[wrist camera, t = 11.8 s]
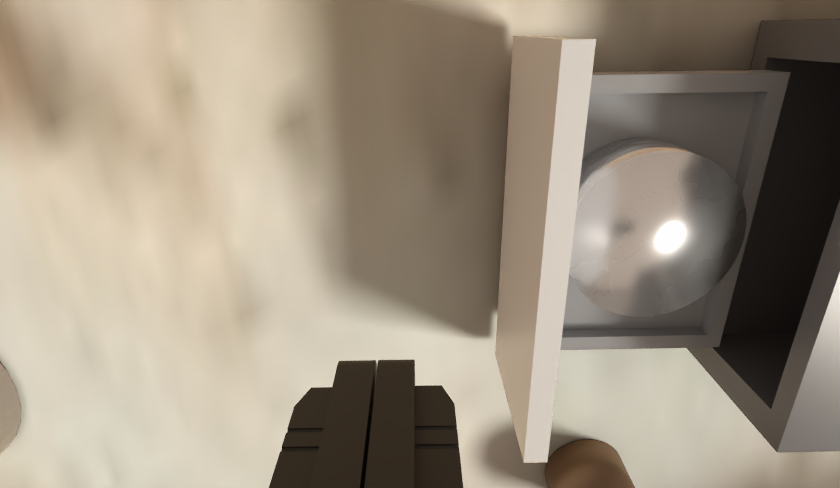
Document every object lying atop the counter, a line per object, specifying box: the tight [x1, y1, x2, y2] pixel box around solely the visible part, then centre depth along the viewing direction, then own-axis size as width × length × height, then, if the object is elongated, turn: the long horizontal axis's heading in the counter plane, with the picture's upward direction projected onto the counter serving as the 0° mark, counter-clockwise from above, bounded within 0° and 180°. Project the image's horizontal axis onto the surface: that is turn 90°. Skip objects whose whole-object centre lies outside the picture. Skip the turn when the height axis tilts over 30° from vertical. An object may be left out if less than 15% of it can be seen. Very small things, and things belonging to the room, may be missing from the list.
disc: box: [569, 137, 747, 317], centre depth 18 cm, size 6×6×2 cm
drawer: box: [495, 36, 790, 463], centre depth 17 cm, size 9×13×6 cm
